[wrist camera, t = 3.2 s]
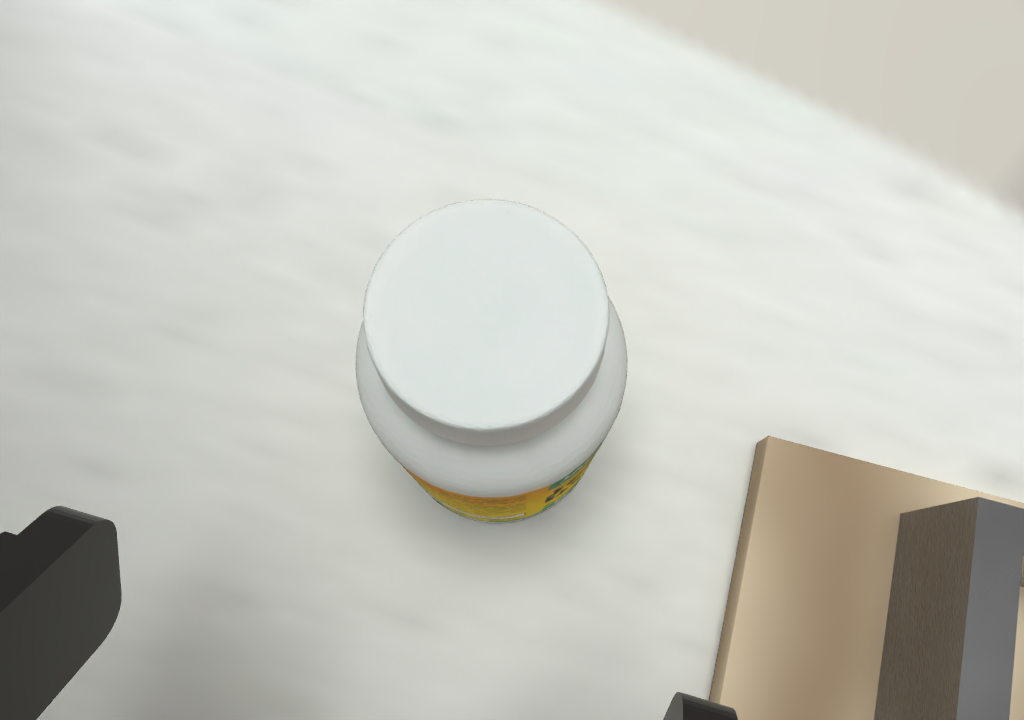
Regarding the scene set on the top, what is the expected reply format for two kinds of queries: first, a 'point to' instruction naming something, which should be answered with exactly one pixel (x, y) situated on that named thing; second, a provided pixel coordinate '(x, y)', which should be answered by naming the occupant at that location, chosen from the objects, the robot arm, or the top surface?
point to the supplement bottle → (490, 358)
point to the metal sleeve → (953, 613)
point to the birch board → (820, 585)
